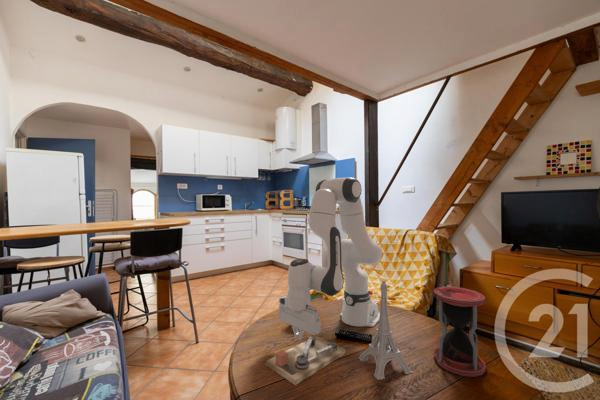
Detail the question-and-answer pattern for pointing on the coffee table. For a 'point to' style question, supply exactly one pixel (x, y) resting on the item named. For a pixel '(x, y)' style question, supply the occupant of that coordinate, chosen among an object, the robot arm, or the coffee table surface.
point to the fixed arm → (319, 355)
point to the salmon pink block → (281, 358)
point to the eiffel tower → (384, 342)
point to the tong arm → (306, 352)
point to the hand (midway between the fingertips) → (298, 338)
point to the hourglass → (459, 331)
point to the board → (299, 375)
